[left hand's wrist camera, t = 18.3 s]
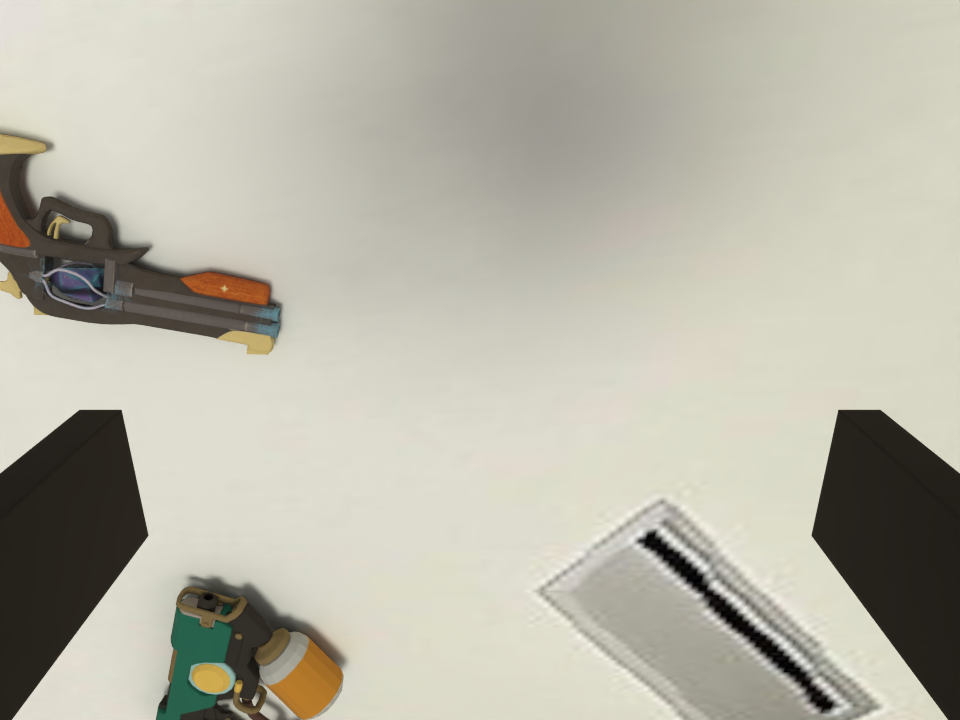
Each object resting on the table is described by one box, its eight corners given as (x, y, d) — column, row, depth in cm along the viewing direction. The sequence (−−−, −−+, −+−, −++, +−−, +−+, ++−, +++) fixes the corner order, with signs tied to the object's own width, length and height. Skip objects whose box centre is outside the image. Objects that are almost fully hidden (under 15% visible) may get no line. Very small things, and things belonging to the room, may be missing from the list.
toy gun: (-76, 120, 36) (-76, 304, 38) (292, 195, 39) (270, 362, 41) (-43, 123, 38) (-45, 296, 41) (300, 193, 41) (278, 351, 44)
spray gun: (283, 768, 58) (119, 688, 55) (382, 651, 52) (204, 555, 49) (265, 819, 54) (88, 736, 51) (370, 699, 48) (176, 598, 45)
